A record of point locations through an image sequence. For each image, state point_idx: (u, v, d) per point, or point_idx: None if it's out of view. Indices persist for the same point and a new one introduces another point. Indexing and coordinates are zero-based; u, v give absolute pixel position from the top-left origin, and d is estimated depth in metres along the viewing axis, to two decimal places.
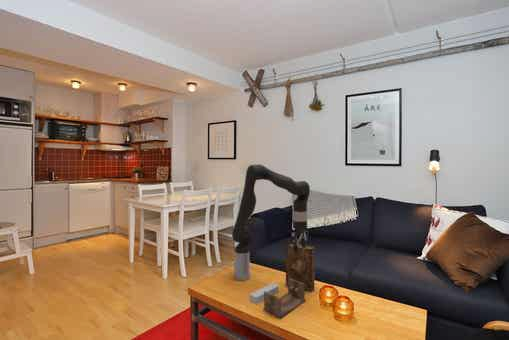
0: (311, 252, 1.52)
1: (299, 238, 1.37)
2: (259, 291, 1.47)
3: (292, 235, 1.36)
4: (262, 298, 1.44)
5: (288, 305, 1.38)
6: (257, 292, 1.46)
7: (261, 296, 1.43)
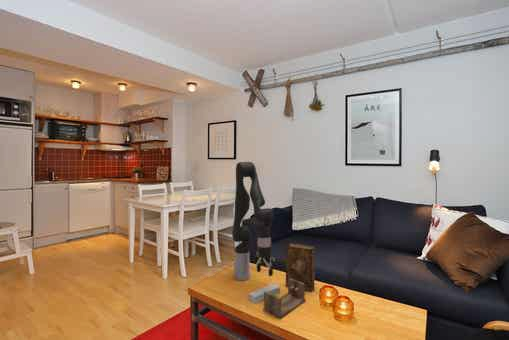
0: (311, 252, 1.52)
1: (271, 261, 1.47)
2: (259, 291, 1.48)
3: (273, 260, 1.43)
4: (261, 298, 1.44)
5: (288, 305, 1.38)
6: (256, 292, 1.47)
7: (260, 295, 1.44)
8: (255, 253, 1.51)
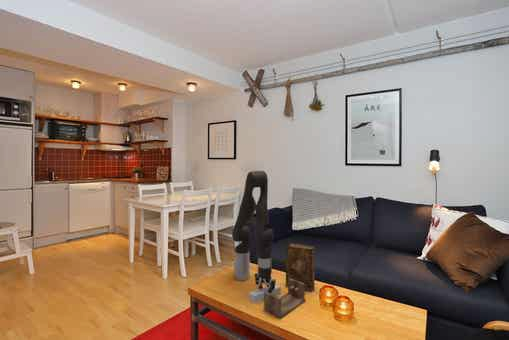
0: (311, 252, 1.52)
1: (270, 282, 1.48)
2: (259, 290, 1.48)
3: (273, 282, 1.44)
4: (261, 297, 1.44)
5: (288, 305, 1.38)
6: (257, 291, 1.47)
7: (259, 295, 1.44)
8: (255, 274, 1.52)
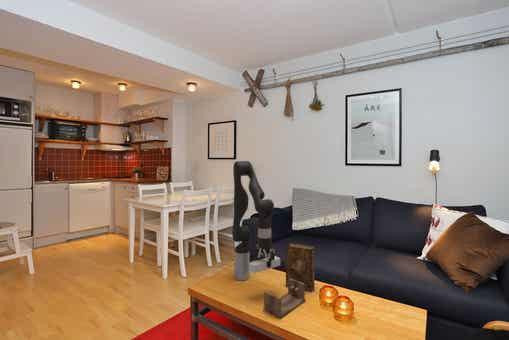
0: (311, 252, 1.52)
1: (270, 253, 1.47)
2: (259, 261, 1.47)
3: (273, 253, 1.43)
4: (261, 267, 1.44)
5: (288, 305, 1.38)
6: (256, 261, 1.46)
7: (259, 265, 1.43)
8: (255, 245, 1.51)
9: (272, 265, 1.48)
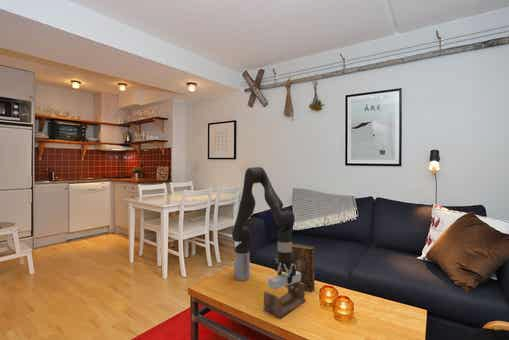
0: (311, 252, 1.52)
1: (291, 268, 1.38)
2: (279, 276, 1.38)
3: (295, 268, 1.34)
4: (281, 284, 1.34)
5: (288, 305, 1.38)
6: (276, 277, 1.37)
7: (280, 281, 1.34)
8: (274, 259, 1.42)
9: (293, 281, 1.39)
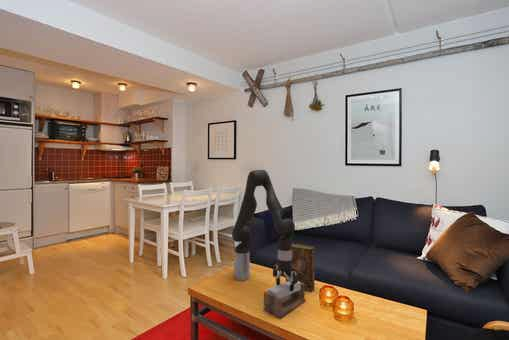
0: (311, 252, 1.52)
1: (292, 275, 1.38)
2: (279, 286, 1.38)
3: (295, 275, 1.34)
4: (281, 294, 1.35)
5: (288, 305, 1.38)
6: (276, 287, 1.37)
7: (280, 291, 1.34)
8: (274, 266, 1.42)
9: None
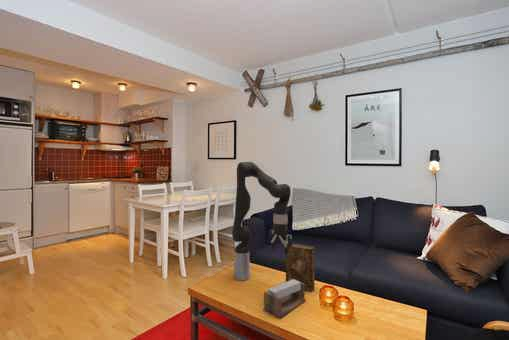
0: (311, 252, 1.52)
1: None
2: (279, 286, 1.38)
3: (290, 237, 1.37)
4: (281, 294, 1.35)
5: (288, 305, 1.38)
6: (276, 287, 1.37)
7: (280, 291, 1.34)
8: (270, 230, 1.45)
9: (292, 290, 1.39)
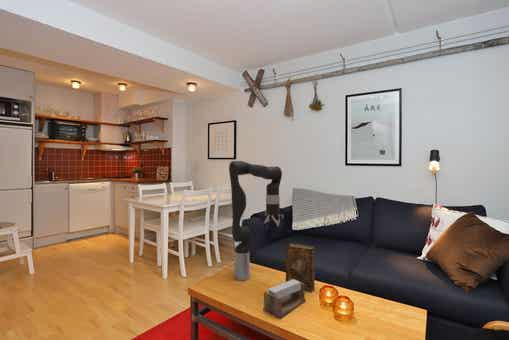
0: (311, 252, 1.52)
1: (279, 219, 1.48)
2: (279, 286, 1.38)
3: (282, 216, 1.44)
4: (281, 294, 1.35)
5: (288, 305, 1.38)
6: (276, 287, 1.37)
7: (280, 291, 1.34)
8: (263, 211, 1.52)
9: (292, 290, 1.39)
